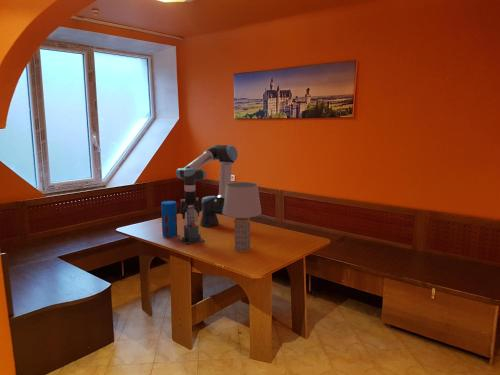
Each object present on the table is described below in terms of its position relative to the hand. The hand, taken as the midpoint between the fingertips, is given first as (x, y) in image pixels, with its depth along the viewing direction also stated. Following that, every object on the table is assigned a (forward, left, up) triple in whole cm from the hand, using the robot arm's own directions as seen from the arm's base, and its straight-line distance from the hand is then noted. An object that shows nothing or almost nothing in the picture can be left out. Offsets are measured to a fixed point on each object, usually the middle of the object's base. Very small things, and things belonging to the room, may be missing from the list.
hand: (191, 222), depth 274 cm
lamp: (-20, +36, -14) cm, 43 cm away
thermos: (+8, -20, -14) cm, 25 cm away
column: (0, 0, -11) cm, 11 cm away
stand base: (0, 0, -13) cm, 13 cm away
